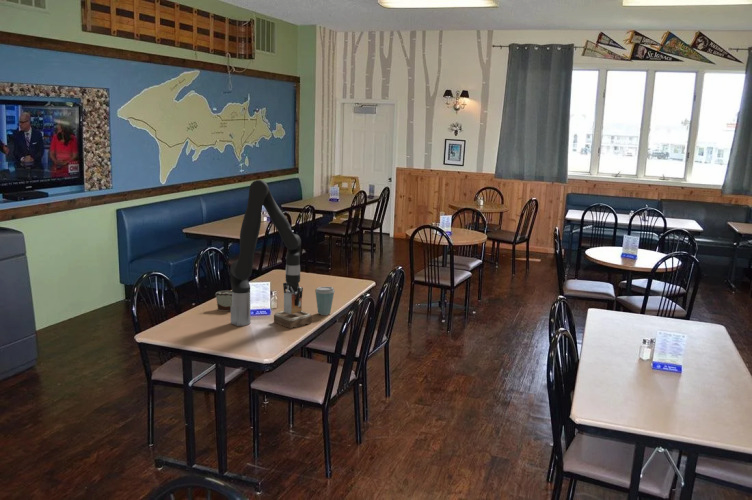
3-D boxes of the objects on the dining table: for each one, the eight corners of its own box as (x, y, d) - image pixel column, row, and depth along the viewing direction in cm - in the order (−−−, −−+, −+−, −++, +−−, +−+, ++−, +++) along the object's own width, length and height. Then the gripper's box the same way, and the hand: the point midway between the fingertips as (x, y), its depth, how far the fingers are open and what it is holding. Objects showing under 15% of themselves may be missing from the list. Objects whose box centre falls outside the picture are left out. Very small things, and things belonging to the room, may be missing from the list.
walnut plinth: (290, 328, 329) (290, 319, 328) (273, 322, 338) (273, 313, 337) (311, 323, 338) (311, 314, 337) (295, 317, 348) (295, 308, 347)
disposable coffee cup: (310, 314, 353) (311, 288, 350) (321, 309, 363) (321, 284, 360) (327, 317, 349) (327, 291, 346) (337, 312, 358) (338, 286, 355)
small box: (291, 314, 332) (291, 294, 330) (283, 312, 336) (283, 292, 334) (302, 311, 339) (302, 291, 337) (294, 308, 342) (294, 289, 340)
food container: (240, 308, 361) (240, 290, 359) (237, 311, 355) (236, 293, 353) (219, 306, 362) (218, 289, 360) (215, 310, 356) (214, 292, 354)
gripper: (278, 271, 335) (278, 302, 339) (295, 276, 325) (295, 308, 329) (290, 269, 341) (290, 299, 344) (307, 274, 331) (307, 306, 334)
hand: (292, 304), depth 336 cm, fingers closed on small box, 6 cm apart
